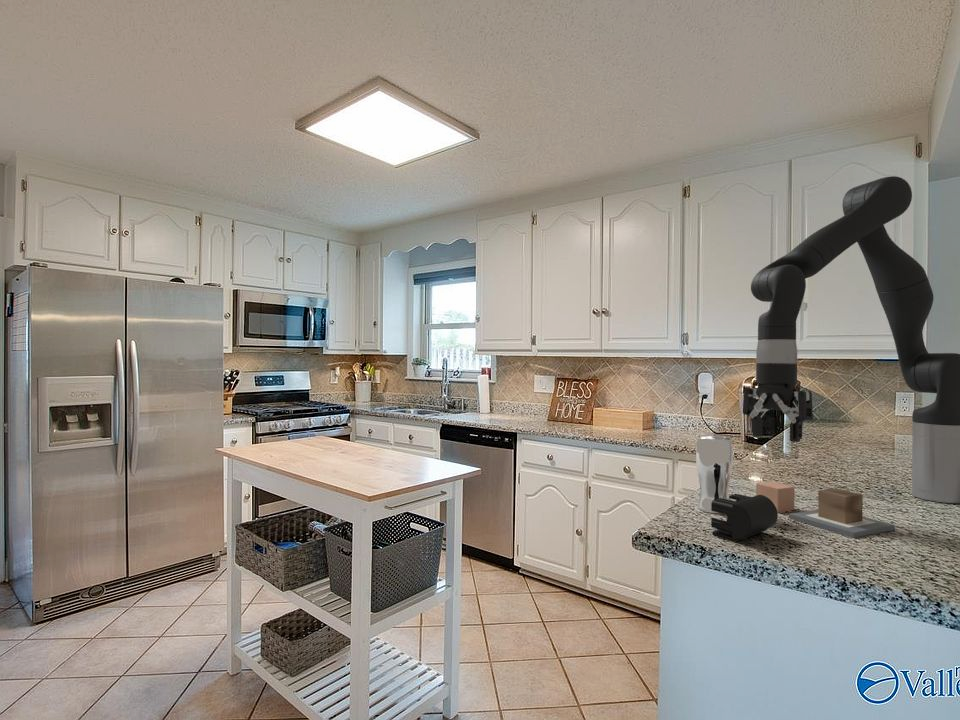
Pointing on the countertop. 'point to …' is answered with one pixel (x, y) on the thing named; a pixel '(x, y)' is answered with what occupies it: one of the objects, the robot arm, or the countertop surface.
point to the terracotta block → (777, 495)
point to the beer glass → (713, 469)
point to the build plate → (850, 529)
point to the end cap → (743, 516)
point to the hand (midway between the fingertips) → (775, 438)
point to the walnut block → (840, 505)
